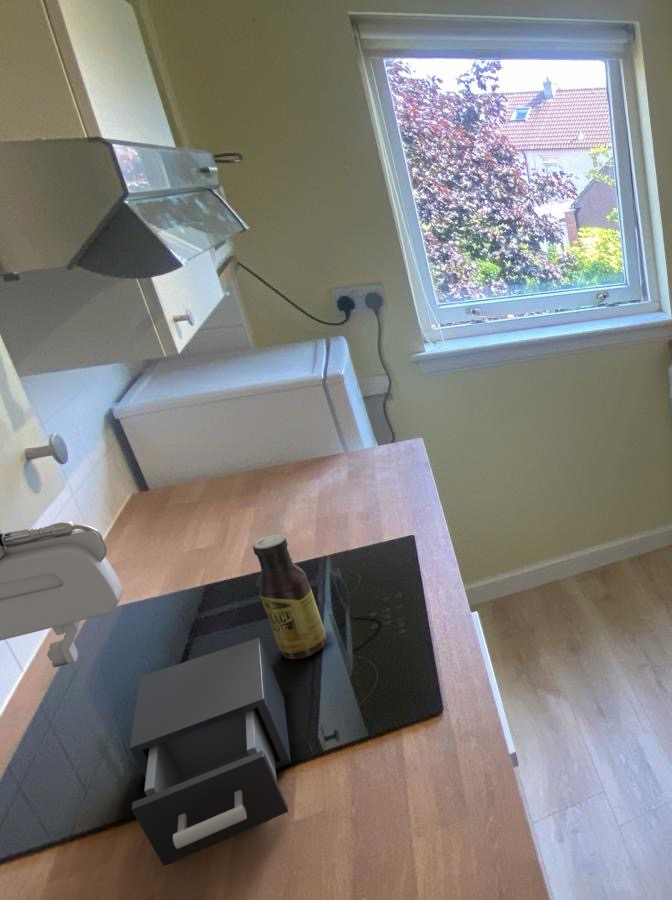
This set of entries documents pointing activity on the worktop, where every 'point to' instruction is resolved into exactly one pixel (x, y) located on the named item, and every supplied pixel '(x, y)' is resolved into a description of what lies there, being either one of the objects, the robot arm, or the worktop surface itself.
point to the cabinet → (209, 699)
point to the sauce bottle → (288, 600)
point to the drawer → (209, 786)
